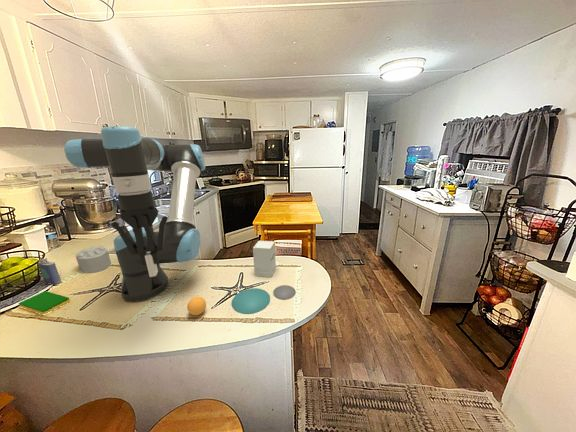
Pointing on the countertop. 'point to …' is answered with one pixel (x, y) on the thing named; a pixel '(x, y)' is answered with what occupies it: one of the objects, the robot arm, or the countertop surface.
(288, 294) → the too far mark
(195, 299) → the ball
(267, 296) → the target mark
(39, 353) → the countertop surface
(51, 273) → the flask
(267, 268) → the supplement box
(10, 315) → the countertop surface
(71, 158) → the robot arm
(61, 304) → the dish sponge
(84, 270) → the lumpy-topped squat cylinder
